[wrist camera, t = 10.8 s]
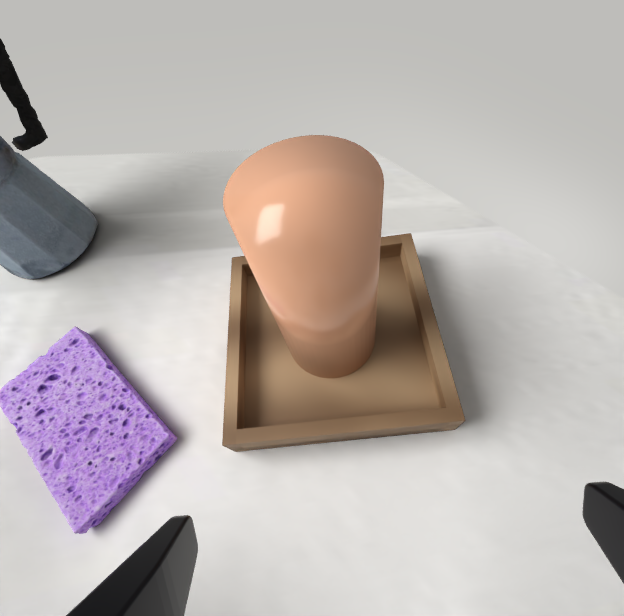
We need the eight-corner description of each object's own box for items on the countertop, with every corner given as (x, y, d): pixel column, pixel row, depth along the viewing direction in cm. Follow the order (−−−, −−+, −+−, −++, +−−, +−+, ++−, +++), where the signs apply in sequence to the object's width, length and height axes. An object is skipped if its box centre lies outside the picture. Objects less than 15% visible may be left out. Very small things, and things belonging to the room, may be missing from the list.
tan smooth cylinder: (393, 345, 23) (419, 192, 12) (317, 396, 22) (269, 279, 11) (342, 285, 26) (325, 117, 15) (273, 327, 25) (199, 180, 14)
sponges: (91, 335, 28) (75, 324, 27) (183, 441, 23) (170, 436, 22) (12, 401, 26) (-11, 394, 25) (94, 534, 21) (72, 536, 20)
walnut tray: (454, 429, 21) (465, 420, 19) (235, 451, 22) (222, 445, 20) (406, 254, 28) (410, 233, 26) (241, 276, 29) (231, 257, 27)
